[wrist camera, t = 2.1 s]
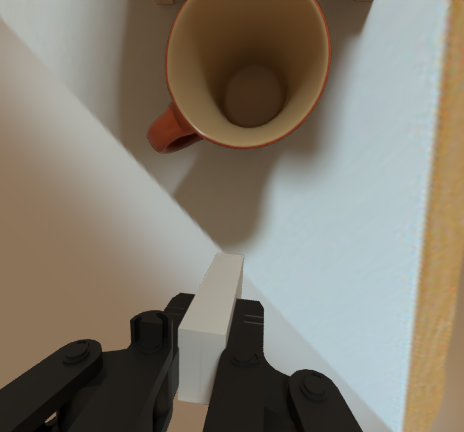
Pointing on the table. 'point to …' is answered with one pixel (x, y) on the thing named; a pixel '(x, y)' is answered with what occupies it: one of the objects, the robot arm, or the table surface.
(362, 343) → the table surface
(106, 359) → the robot arm
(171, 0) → the wooden standing sign
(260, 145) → the mug
